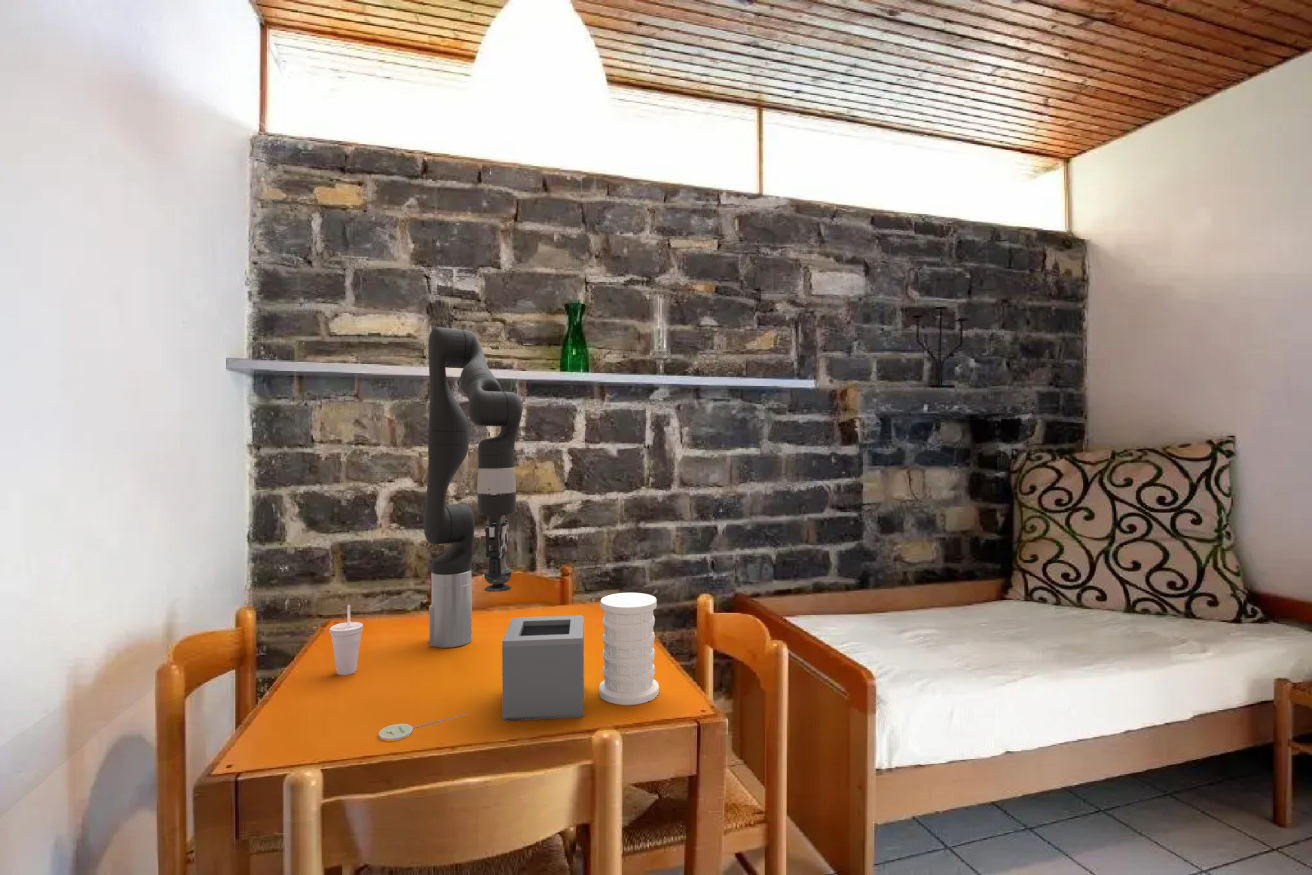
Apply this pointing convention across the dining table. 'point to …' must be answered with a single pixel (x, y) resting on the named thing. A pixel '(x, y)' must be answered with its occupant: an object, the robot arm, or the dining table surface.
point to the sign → (401, 730)
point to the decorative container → (628, 649)
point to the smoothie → (346, 645)
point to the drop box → (543, 668)
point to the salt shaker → (505, 577)
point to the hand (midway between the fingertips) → (497, 573)
